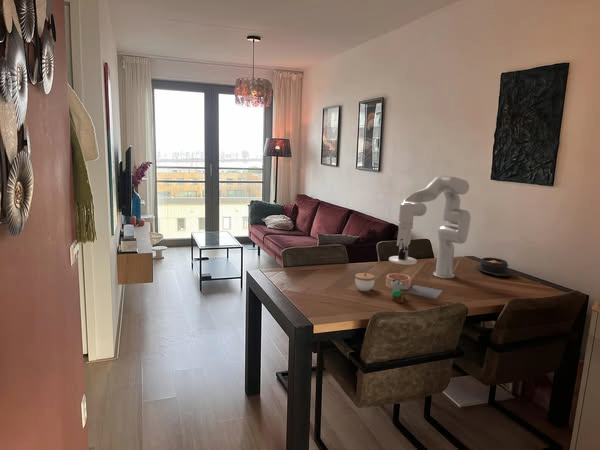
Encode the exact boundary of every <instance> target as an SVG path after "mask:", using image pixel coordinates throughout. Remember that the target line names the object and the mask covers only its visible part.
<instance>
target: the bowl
mask: <svg viewBox="0 0 600 450" xmlns="http://www.w3.org/2000/svg"><path fill="white" fill-rule="evenodd" d="M396 278H400V281H401V282H403V283H404V285H407V289H406V291H408V290H409V289H410V288H411V283H412V282H411V279H412V278H411V276H409V275H408V274H403V273H388V274H387V275H386V278H385V286H386V287H387V288H388V289H391V290H392V286H391V282H392V280H393V279H396Z"/></svg>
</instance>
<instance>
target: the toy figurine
mask: <svg viewBox="0 0 600 450" xmlns="http://www.w3.org/2000/svg"><path fill="white" fill-rule="evenodd" d="M391 286H392V289H391V300H392V302H395V303H399V304H405V302H406V297H407V296H406V294H407V293H406V292H407V290H408V289H407V285H404V283H403V282H401V281H400V278H396V279H393V280H392V282H391ZM406 289H407V290H406Z"/></svg>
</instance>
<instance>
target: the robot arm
mask: <svg viewBox="0 0 600 450" xmlns="http://www.w3.org/2000/svg"><path fill="white" fill-rule="evenodd" d="M469 190H470V184H469V182H468V181H467V180H465V179H462V178H460V177H457V176H450V175H438V176H437V175H436V177H434V178H433V179H432V180H431V181H430V182H429V183H428V185H426V186H425V188H423V189H419V190H418V191H415V192H412V193H411V194H409V195H408V196H407V197H406V198H405V199H403V201H402V202H401V203H400V205H399V214H398V215H399V216H398V233H397V241H396V246H397V247H398V248H399V250H398V256H399V259H405V250H408V251H409V245H410V244H411V234H412V230H413V226H414V216H415V217H422V216H424V215H425V214H427V206H426V205H425V203H426V202H432V201H434V200H436V199H437V198H438V197H439V196H440V195H441V193H443V195H444V197H445V203H444V209H443V216H442V218H443V221H444V223H447V224H444V225H441V226H439V228H438V229H437V239H438V240H437V241H438V243H437V244H438V246H437V255H436V256H437V257H436V266H435V271H433V273H432V275H433V276H435V277H437V278H441V279H453V278H455V274H454V273H453V266H454V257H455V256H454V255H455V245H454V243H455V244H460V245H461V244H465V243H466V241H467V240H468V236H469V232H470V225H471V218H472V217H471V213H470V212H469V211H468V210H467V209H462V208H461V198H460V195H466V194H467V193H468V192H469ZM449 224H451V225H449ZM454 225H456V226H454Z"/></svg>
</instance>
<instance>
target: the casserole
mask: <svg viewBox="0 0 600 450" xmlns="http://www.w3.org/2000/svg"><path fill="white" fill-rule="evenodd" d="M479 263H480V264H476V265H475V267H476V268H477V270H479V271H480V272H483V273H485V274H488V275H492V276H500V277H509V276H512V273H510V272H509V270H508V269H507V268H508V267H509V264H508V261H507V260H505V259H501V258H497V257H483V258H481V260H480V261H479Z"/></svg>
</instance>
